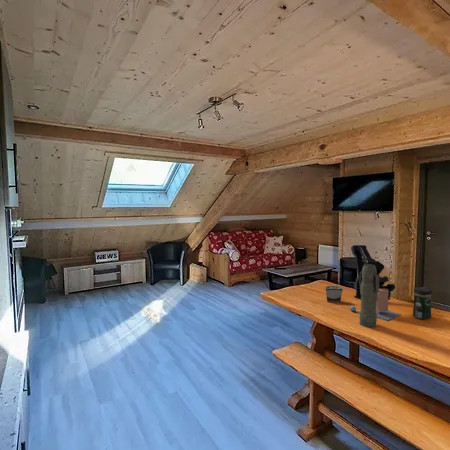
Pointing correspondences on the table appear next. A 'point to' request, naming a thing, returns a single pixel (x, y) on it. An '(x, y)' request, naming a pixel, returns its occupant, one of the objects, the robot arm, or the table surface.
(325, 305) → the table surface
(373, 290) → the thermos
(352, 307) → the ball
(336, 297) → the food container
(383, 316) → the slate mat
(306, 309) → the table surface
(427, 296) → the coffee jar
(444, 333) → the table surface
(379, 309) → the brown piece
